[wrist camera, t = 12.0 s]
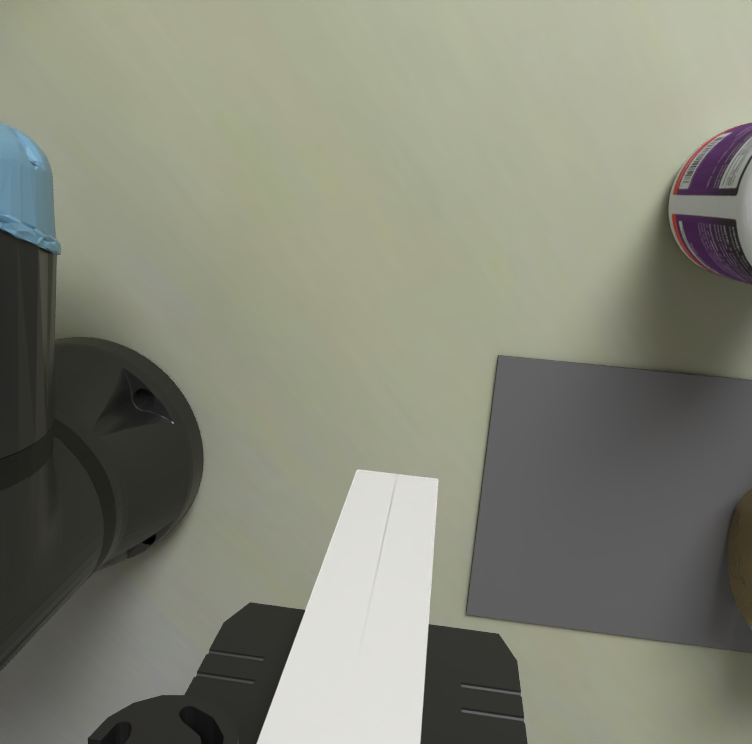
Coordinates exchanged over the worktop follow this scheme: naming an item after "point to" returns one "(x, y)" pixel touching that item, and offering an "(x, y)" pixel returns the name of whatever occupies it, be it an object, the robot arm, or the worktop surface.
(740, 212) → the pill bottle
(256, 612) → the robot arm
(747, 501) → the pin
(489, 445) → the mat
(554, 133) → the worktop surface
